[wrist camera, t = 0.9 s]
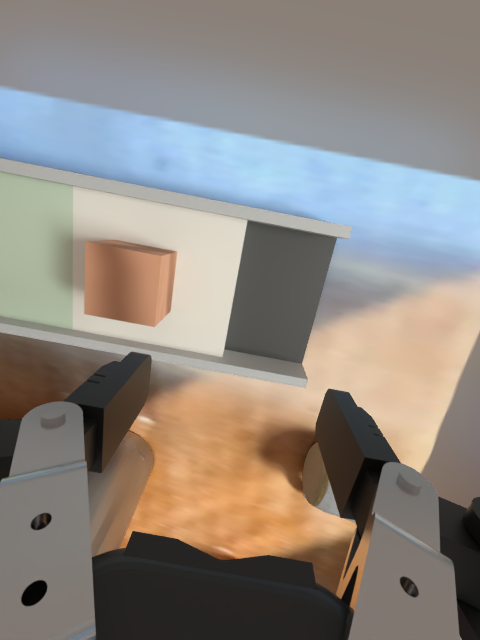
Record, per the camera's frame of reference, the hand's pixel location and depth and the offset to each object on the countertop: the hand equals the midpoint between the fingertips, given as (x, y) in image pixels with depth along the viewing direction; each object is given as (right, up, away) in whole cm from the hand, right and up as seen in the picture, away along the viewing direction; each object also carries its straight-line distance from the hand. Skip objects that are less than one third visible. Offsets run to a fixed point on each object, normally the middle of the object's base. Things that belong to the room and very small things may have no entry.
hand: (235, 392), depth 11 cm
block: (-9, +7, +17) cm, 20 cm away
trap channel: (-13, +9, +19) cm, 24 cm away
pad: (-21, +10, +19) cm, 30 cm away
